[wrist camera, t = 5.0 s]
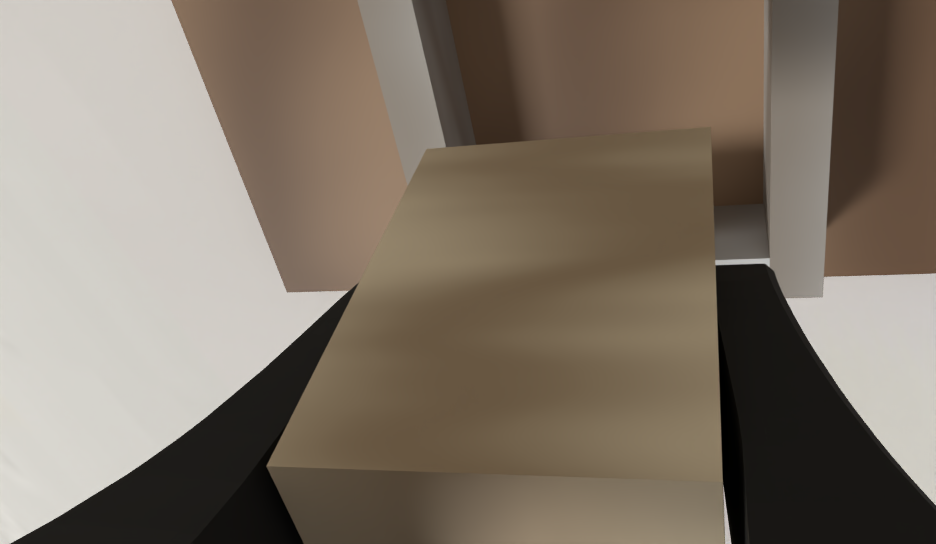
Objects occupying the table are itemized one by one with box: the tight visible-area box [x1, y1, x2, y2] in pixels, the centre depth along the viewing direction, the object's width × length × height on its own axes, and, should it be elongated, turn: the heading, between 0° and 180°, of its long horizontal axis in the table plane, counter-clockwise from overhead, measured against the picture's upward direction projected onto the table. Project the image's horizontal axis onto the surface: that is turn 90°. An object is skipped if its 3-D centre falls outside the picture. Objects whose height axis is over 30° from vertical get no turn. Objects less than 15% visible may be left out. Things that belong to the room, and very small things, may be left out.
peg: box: [267, 127, 725, 544], centre depth 11 cm, size 4×4×6 cm
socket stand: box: [171, 0, 936, 298], centre depth 17 cm, size 18×10×3 cm, turn 101°
